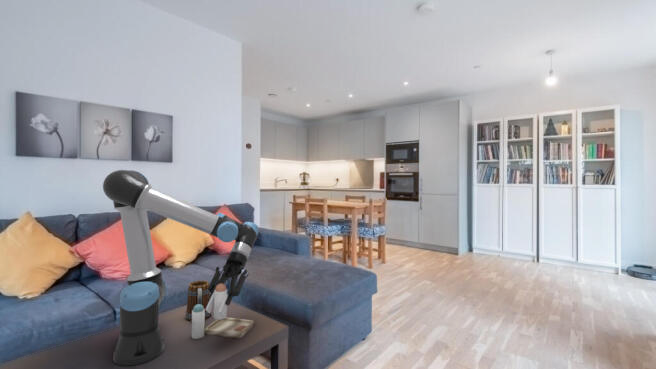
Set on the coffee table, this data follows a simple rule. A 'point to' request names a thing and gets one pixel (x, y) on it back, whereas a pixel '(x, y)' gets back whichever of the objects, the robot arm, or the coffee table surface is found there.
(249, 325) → the tray
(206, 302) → the mug
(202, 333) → the tube teal
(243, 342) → the coffee table surface
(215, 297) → the tube terracotta
